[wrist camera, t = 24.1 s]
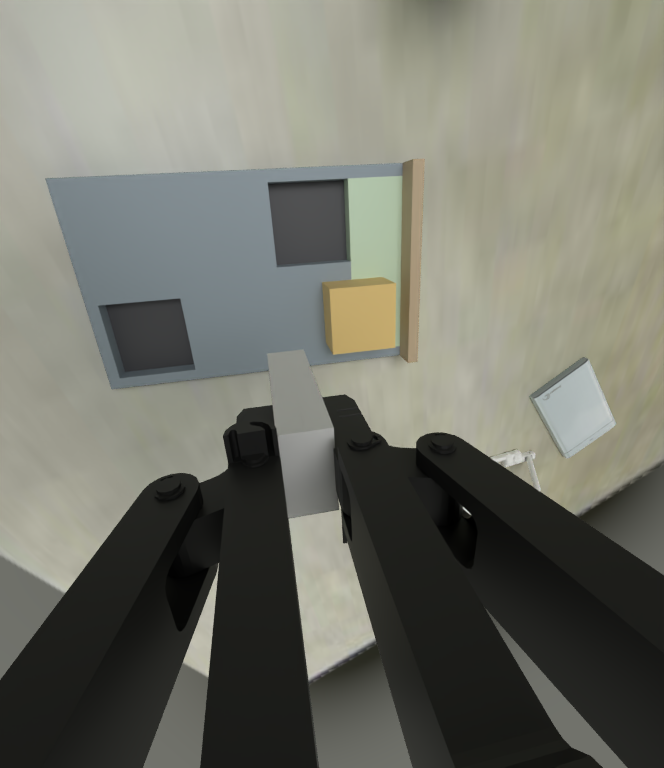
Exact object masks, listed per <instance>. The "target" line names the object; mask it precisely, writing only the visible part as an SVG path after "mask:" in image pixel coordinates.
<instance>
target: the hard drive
mask: <svg viewBox="0 0 664 768" xmlns="http://www.w3.org/2000/svg"><path fill="white" fill-rule="evenodd" d="M529 397H530V398H531V400H532V402H533V404H534V406H535V408H536V409H537V411H538V413H539V415H540V417H541V418H542V420H543V422H544V424H545V426H546V427H547V429H548V431H549V433H550V435H551V436H552V438H553V440H554V442H555V444H556V445H557V447H558V449H559V451H560V453H561V454H562V456H564V457H565V458H570V457H571V456H573V455H574V454H576V453H577V452H579V451H580V450H582V449H583V448H584V447H586V446H587V445H589V444H590V443H592V442H593V441H594V440H596V439H597V438H599V437H600V436H602V435H603V434H604V433H606V432H607V431H609V430H610V429H611V428H613V427H614V426H615V425H616V422H615V420H614V417H613V415H612V413H611V410H610V408H609V406H608V403H607V401H606V399H605V396H604V394H603V391H602V389H601V387H600V385H599V382H598V380H597V378H596V375H595V373H594V371H593V368H592V366H591V364H590V361H589V359H587V358H585V357H583V358H581V359H580V360H578V361H577V362H576V363H574V364H573V365H571V366H570V367H569V368H567V369H566V370H564V371H563V372H562V373H560V374H559V375H558V376H556V377H555V378H553V379H552V380H551V381H549V382H548V383H546V384H545V385H544V386H542V387H541V388H540V389H538V390H537V391H535V392H534V393H533V394H531V395H530V396H529Z"/></svg>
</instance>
